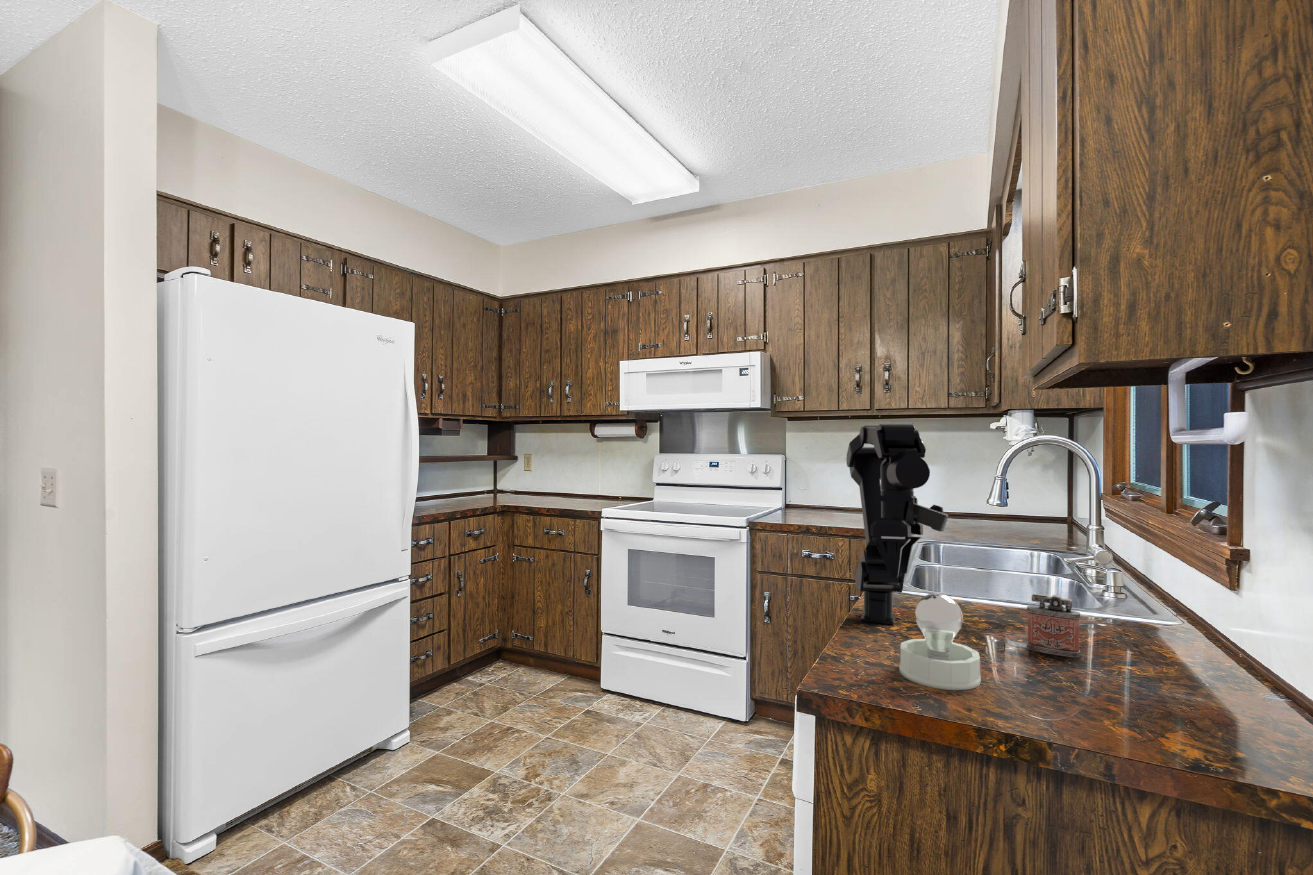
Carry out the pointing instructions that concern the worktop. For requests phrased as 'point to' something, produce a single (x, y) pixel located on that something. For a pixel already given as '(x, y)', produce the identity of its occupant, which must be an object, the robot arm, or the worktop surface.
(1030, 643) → the lighter
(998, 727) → the worktop surface
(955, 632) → the light bulb
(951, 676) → the bulb holder
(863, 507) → the robot arm
